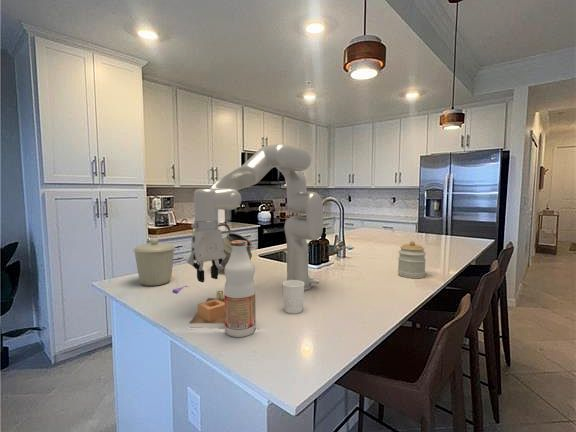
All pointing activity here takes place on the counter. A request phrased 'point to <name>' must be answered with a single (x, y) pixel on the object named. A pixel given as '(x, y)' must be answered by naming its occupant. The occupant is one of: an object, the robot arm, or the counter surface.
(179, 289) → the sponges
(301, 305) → the white cup
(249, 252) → the pot
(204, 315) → the collar
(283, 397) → the counter surface
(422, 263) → the jar
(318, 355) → the counter surface
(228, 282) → the fruit juice
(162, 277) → the canister
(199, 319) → the walnut board
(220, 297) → the short gold cylinder
